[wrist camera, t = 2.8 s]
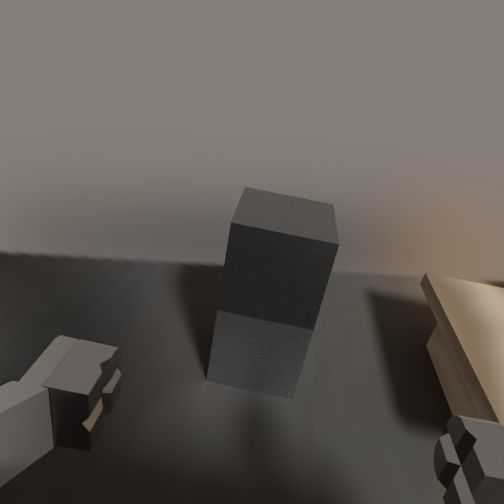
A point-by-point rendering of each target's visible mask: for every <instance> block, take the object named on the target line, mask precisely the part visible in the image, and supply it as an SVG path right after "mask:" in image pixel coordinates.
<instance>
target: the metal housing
mask: <svg viewBox="0 0 504 504" xmlns="http://www.w3.org/2000/svg"><path fill="white" fill-rule="evenodd" d="M338 246H339V240H338V234H337V227H336V221H335V214H334V208H333V205H332V204H328V203H322V202H317V201H312V200H307V199H303V198H297V197H293V196H288V195H283V194H277V193H273V192H267V191H262V190H257V189H253V188H247V187H245V189H244V192H243V194H242V196H241V199H240V201H239V204H238V207H237V209H236V212H235V214H234V216H233V219H232V221H231V226H230V233H229V239H228V245H227V251H226V258H225V264H224V271H223V277H222V283H221V290H220V296H219V303H218V309H217V316H216V322H215V328H214V335H213V341H212V348H211V354H210V360H209V367H208V373H207V380H206V381H210V382H215V383H219V384H224V385H229V386H234V387H238V388H243V389H248V390H253V391H257V392H262V393H267V394H271V395H276V396H281V397H286V398H290V399H293V396H294V393H295V390H296V386H297V383H298V380H299V376H300V373H301V370H302V366H303V363H304V360H305V356H306V353H307V350H308V346H309V343H310V340H311V336H312V333H313V330H314V326H315V323H316V320H317V316H318V313H319V310H320V306H321V303H322V300H323V296H324V293H325V290H326V286H327V283H328V280H329V276H330V273H331V270H332V266H333V263H334V259H335V256H336V253H337V250H338Z"/></svg>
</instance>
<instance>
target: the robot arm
mask: <svg viewBox="0 0 504 504" xmlns="http://www.w3.org/2000/svg"><path fill="white" fill-rule="evenodd" d="M121 361H122V352H121V349H120V348H117V347H113V346H109V345H104V344H100V343H95V342H91V341H86V340H82V339H80V340H79V339H75V338H71V337H67V336H62V335H60V336H58V337H57V338H55V339H54V340H53V341H52V342H51V344H50V345H49V346H48V347H47V348H46V350H45V351H44V352H43V353H42V354H41V355H40V357H39V358H38V359H37V360H36V361H35V363H34V364H33V365H32V366H31V367H30V369H29V370H28V371H27V372H26V373H25V374H24V376H23V377H22V378H21V379H20V380H19V382H16V381H10V382H8V383H6V384H4V385H2V386H0V487H1V486H3V485H4V484H5V483H7V482H8V481H9V480H11V479H12V478H13V477H15V476H16V475H17V474H19V473H20V472H22V471H23V470H24V469H26V468H27V467H28V466H30V465H31V464H32V463H34V462H35V461H36V460H38V459H39V458H40V457H42V456H43V455H45V454H46V453H47V452H49V451H50V450H51V449H53V448H54V445H55V446H60V447H66V448H72V449H77V450H83V451H89V452H91V450H92V448H93V446H94V444H95V442H96V440H97V438H98V436H99V435H100V433H101V431H102V429H103V417H104V416H106V415H108V414H109V413H111V412H112V410H113V408H114V405H115V403H116V401H117V398H118V395H119V392H120V387H121V377H122V374H121V373H120V371H119V370H118V369H117V368H118V366H119V364H120V363H121ZM446 426H447V429H448V432H449V433H448V434H446V435H444V436H442V437H440V438H439V440H438V442H437V444H436V446H435V451H434V469H435V472H436V476H437V479H438V480H439V481H440V482H441V484H442V485H443V486H444V487H445V488H446V489H447V490H446V492H445V494H444V496H443V499H444V503H445V504H504V424H503V423H496V422H492V421H487V420H481V419H476V418H471V417H466V416H460V415H454V416H452V417H451V418H450V419H449V421H448V423H447V425H446Z"/></svg>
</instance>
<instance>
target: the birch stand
mask: <svg viewBox="0 0 504 504" xmlns="http://www.w3.org/2000/svg"><path fill="white" fill-rule="evenodd" d="M420 285H421V287H422V289H423V291H424V294H425V296H426V298H427V300H428V303H429V305H430V307H431V309H432V311H433V314H434V316H435V318H436V320H437V324H436V326H435V328H434V330H433V333H432V335H431V337H430V339H429V341H428V343H427V345H426V347H427V349H428V352H429V355H430V357H431V360H432V363H433V365H434V368H435V370H436V373H437V376H438V378H439V381H440V384H441V386H442V389H443V391H444V394H445V397H446V399H447V402H448V405H449V407H450V410H451V412H452V415H453V416H454V415H460V416H466V417H471V418H476V419H481V420H487V421H492V422H496V423H503V424H504V288H500V287H495V286H490V285H485V284H480V283H475V282H470V281H465V280H460V279H455V278H451V277H446V276H441V275H436V274H431V273H425V274H424V277H423V279H422V282H421V284H420Z"/></svg>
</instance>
